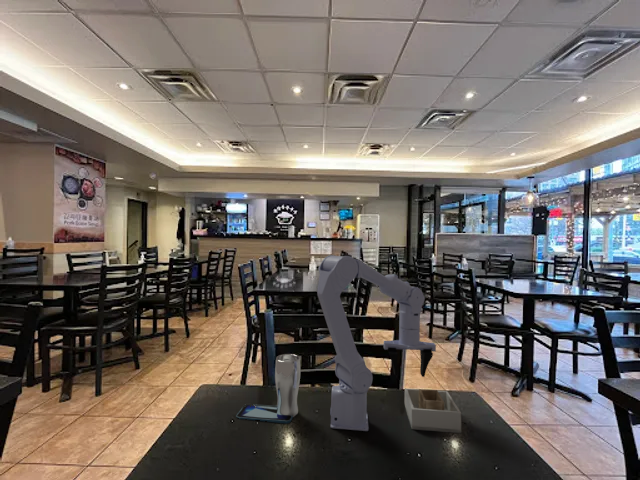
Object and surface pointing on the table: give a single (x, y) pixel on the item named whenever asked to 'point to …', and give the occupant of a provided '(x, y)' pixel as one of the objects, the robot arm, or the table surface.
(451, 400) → the storage crate
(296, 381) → the beer glass
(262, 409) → the smartphone
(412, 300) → the robot arm
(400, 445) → the table surface
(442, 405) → the wood crate
